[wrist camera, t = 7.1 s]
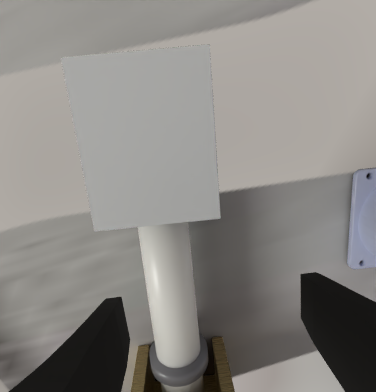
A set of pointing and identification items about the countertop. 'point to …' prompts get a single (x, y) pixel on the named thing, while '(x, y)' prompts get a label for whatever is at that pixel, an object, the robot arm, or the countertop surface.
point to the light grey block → (145, 135)
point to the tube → (173, 308)
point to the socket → (213, 384)
